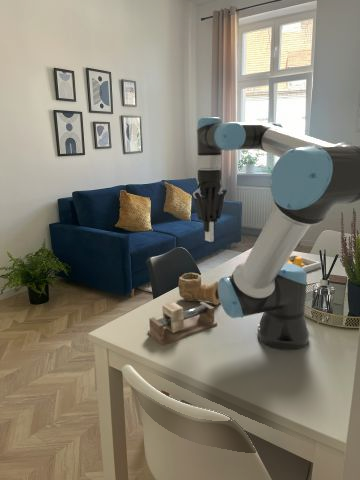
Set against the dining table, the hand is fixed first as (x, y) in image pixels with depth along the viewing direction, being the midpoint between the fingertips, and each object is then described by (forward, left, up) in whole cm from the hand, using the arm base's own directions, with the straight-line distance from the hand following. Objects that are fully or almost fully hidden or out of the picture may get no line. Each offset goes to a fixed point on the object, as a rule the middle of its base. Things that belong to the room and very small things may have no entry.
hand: (209, 240), depth 121 cm
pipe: (+10, -3, -27) cm, 29 cm away
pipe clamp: (+14, -61, -27) cm, 68 cm away
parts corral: (+14, -64, -26) cm, 71 cm away
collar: (-4, +18, -25) cm, 31 cm away
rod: (-4, +14, -23) cm, 27 cm away
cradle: (-4, +14, -26) cm, 30 cm away
